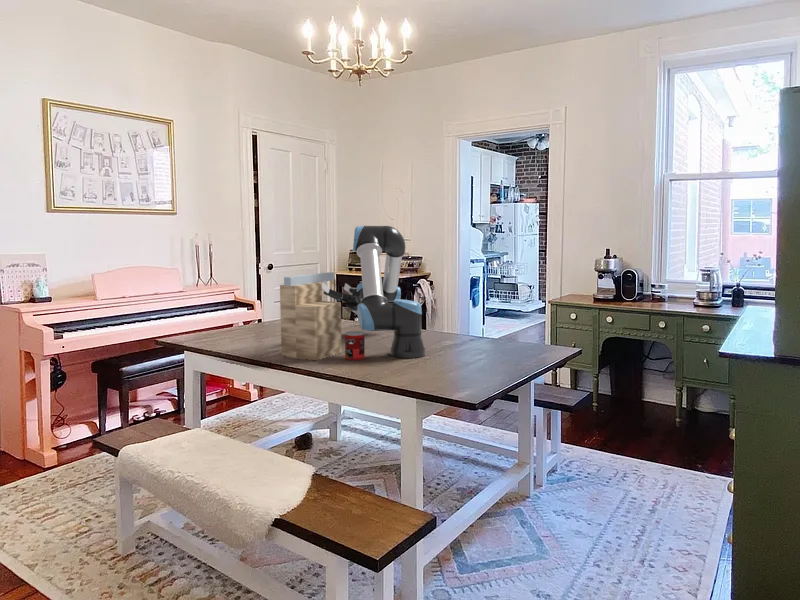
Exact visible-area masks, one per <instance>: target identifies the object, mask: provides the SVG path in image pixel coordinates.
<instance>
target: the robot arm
mask: <svg viewBox="0 0 800 600" xmlns="http://www.w3.org/2000/svg"><path fill="white" fill-rule="evenodd" d="M406 247H407V246H406V241H405V239H404V236H403V235H402V233H401V232H400V231H399V230H398V229H396V228H395V227H394V226H391V225H358V226H356V227H354V234H353V246H352V251H353V252H356V255H357V256H358V257H359V258H360V270H361V271H360V272H361V282H360V283H358V284H357V286H356V288H353V287H352V286H350V285H349V284H348V283H346V282H345V283H344V287H343V290H345V292H347V293H344V292H339V291H337V290H333V289H331V288H330V287H329V286H328V285H327V284H326V283H324V282H320V283H322V291H323V295H325V296H328V297H330V298H332V299H334V300H335V301H336V302H341V301H342V302H344V303H345V306H346V307H347V309H349V310H351V311H352V312H353V313H354V314H355V315H357V319H358V324H359V327H360V329H361V331H362V332H389V331H391V332H393V339H392V343H391V347H390V348H389V355H390V356H392V357H393V358H402V359H414V358H420V357H421V358H422V357H425V355H426V347H425V345H424V341H423V338H422V315H423V310H422V304H421V303H419V301H418V302H417V301H415V300H410V299H409V300H408V299H401V298H402V297H401V295H402V292H401V290H402V289H401V287H400V286H398V285H399V281H400V280H399V279H400V272H401V266H402V261H403V256H404V255H405V253H406ZM382 252H385V255H386V256H385V263H384V264H385V265H384V271H383V272H384V273H383V277H382V268H381V261H380V259H381V258H380V256H381V255H382Z"/></svg>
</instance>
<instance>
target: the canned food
mask: <svg viewBox="0 0 800 600" xmlns="http://www.w3.org/2000/svg"><path fill="white" fill-rule="evenodd" d="M365 346H366V345H365V331H363V330H349V331H345V332H344V354H345V355H344V356H345V360H347V361H363V360H364V359H365V354H366V353H365V351H366V349H365Z"/></svg>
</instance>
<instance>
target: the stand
mask: <svg viewBox="0 0 800 600" xmlns="http://www.w3.org/2000/svg"><path fill="white" fill-rule="evenodd" d="M279 299H280V300H279V302H280V303H279V304H280V305H279V306H280V309H279V310H280V341H281V342H280V343H281V344H280V345H281V346H280V347H281V357H284V356H286V357H285V358H291V357H292V359H298V358H299V359H300V360H305V359H308V360H307V361H312V360H317V361H320V360H323V359H322V358H324V359H326V358H325V357H327V358H330V357H333V356H335V354H336V355H339V354H338V353H340V354H341V353H342V351H343V350H342V304H341V301H340V302H339V301H326V300H323V290H322V283H321V282H318V283H310V284H302V285H295V286H284V284H280V285H279ZM332 355H333V356H332ZM329 356H330V357H329ZM299 359H298V360H299ZM319 359H320V360H319Z"/></svg>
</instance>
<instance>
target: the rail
mask: <svg viewBox="0 0 800 600" xmlns="http://www.w3.org/2000/svg"><path fill="white" fill-rule="evenodd" d="M332 281H335V272H320V273H310V274H300V275H293V276H292V275H291V276H284V277H283V285H284V286H295V285H302V284H310V283H321V282H323V283H324V282H332Z"/></svg>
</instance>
